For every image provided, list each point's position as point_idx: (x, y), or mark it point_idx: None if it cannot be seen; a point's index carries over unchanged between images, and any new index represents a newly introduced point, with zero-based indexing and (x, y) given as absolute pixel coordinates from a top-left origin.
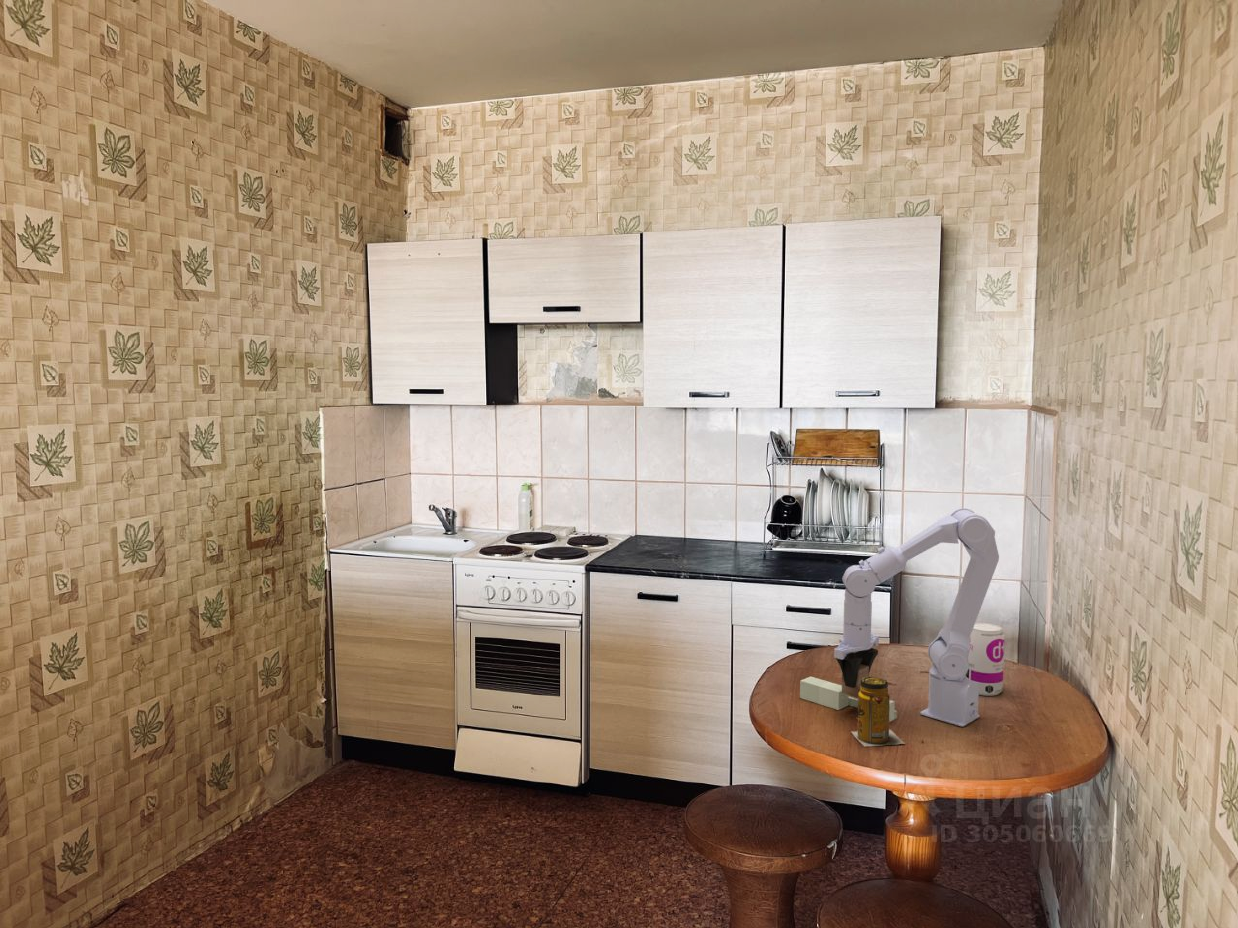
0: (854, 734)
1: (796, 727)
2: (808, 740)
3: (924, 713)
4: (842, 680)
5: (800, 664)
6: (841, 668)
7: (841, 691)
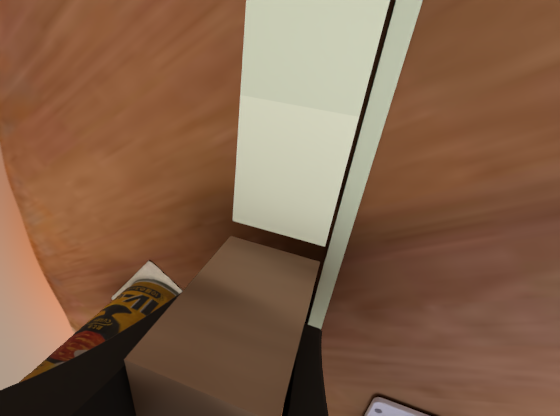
0: (143, 271)
1: (56, 122)
2: (36, 186)
3: (373, 409)
4: (195, 279)
5: None
6: (80, 357)
7: (257, 225)
